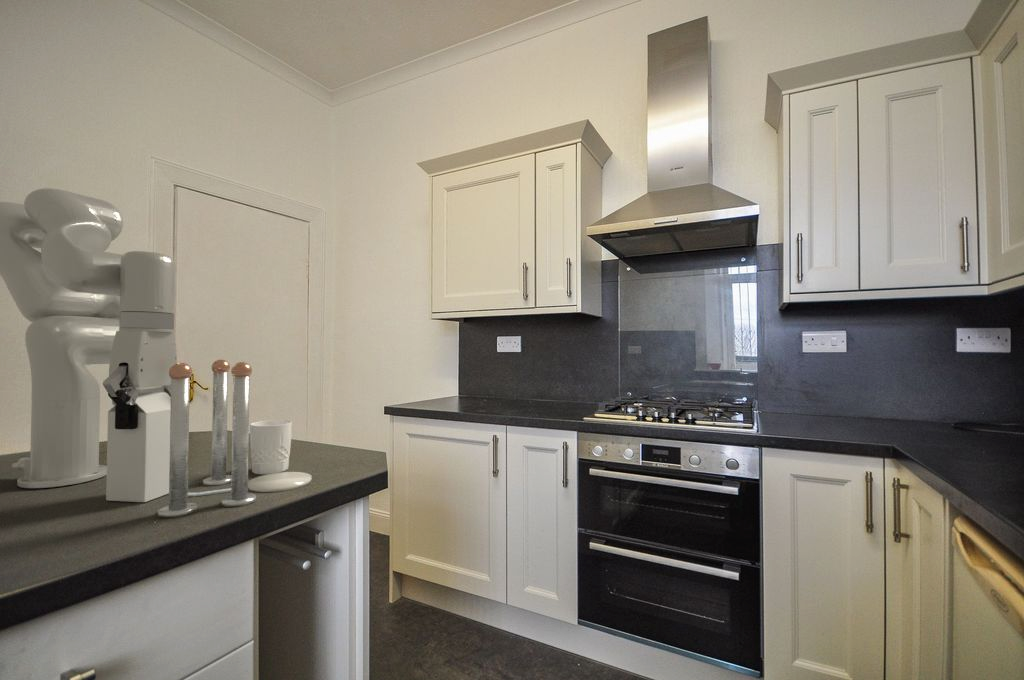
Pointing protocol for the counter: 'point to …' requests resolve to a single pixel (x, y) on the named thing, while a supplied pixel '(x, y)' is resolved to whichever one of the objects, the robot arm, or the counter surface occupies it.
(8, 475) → the counter surface
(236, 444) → the post
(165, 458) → the milk carton
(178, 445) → the post
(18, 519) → the counter surface
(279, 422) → the white cup
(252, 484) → the coaster
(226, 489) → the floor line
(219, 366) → the post
